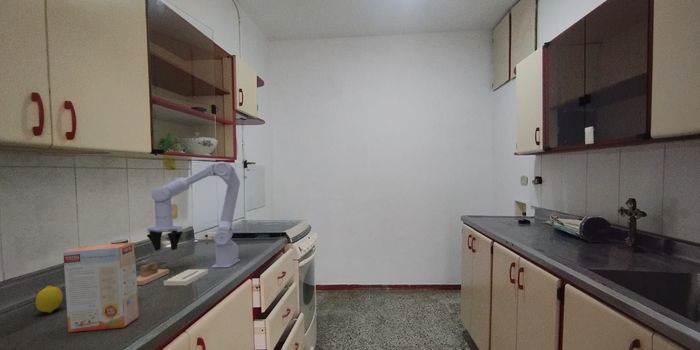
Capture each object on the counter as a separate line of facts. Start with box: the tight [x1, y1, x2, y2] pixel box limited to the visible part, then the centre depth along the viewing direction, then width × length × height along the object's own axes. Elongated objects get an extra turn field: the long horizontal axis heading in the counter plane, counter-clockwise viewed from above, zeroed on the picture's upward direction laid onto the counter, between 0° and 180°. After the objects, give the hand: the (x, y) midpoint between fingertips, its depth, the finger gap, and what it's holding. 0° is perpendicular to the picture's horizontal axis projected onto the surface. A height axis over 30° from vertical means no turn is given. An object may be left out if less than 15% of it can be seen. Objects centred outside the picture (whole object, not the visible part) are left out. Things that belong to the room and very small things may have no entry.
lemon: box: [34, 285, 64, 314], centre depth 84 cm, size 6×6×8 cm
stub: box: [136, 261, 170, 286], centre depth 108 cm, size 12×6×6 cm, turn 172°
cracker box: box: [62, 242, 140, 333], centre depth 74 cm, size 14×6×21 cm, turn 92°
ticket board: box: [163, 268, 209, 286], centre depth 106 cm, size 12×9×2 cm
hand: (166, 249), depth 115 cm, fingers open, 7 cm apart
